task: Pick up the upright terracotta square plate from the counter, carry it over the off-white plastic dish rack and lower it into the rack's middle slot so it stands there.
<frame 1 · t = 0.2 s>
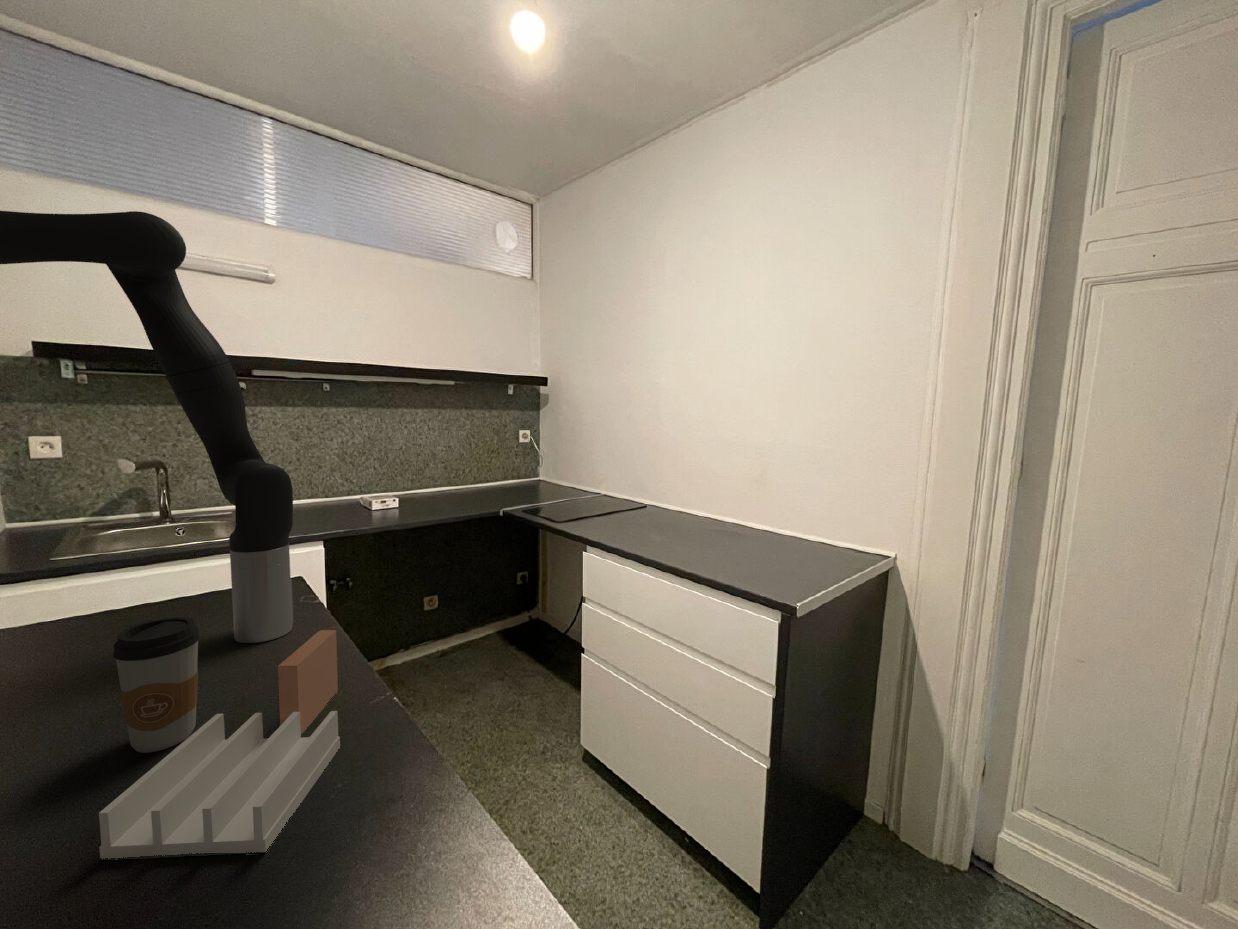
coffee cup: (164, 739, 67), on the countertop
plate: (311, 713, 73), on the countertop
dish rack: (238, 795, 57), on the countertop
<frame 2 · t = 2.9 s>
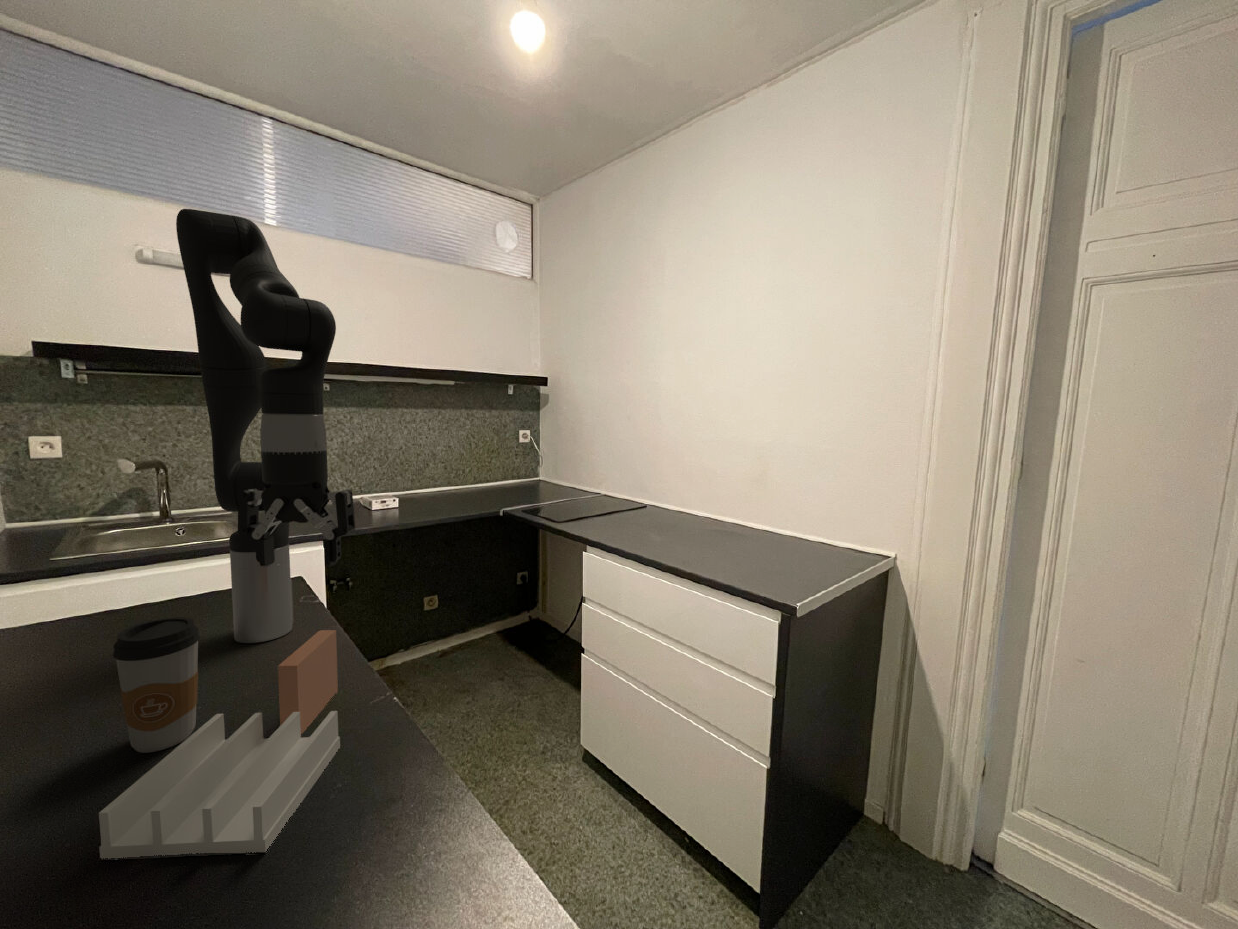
hand: (299, 564, 70), 22 cm above the countertop, tool pointing down, fingers open, 8 cm apart
nothing on the countertop moved.
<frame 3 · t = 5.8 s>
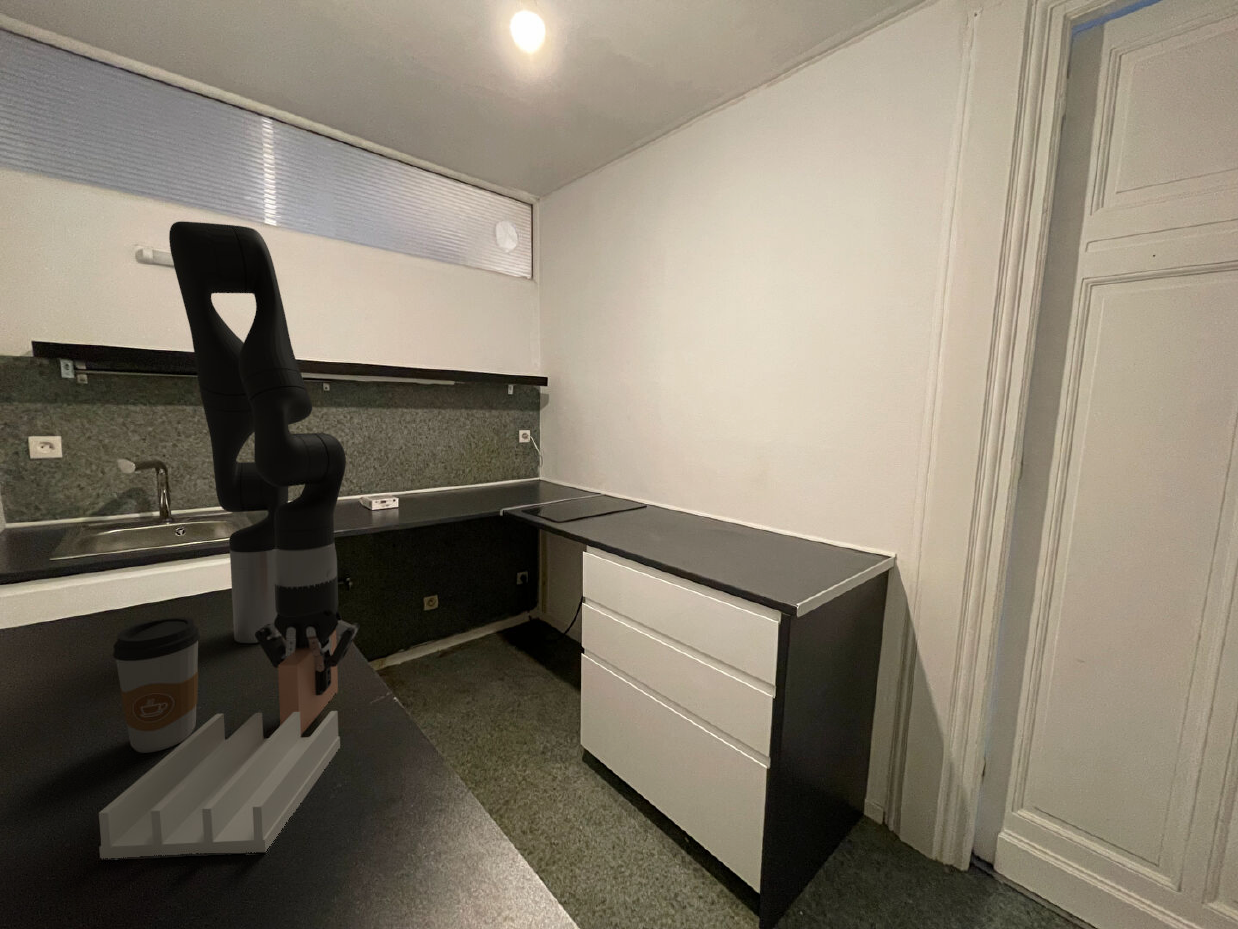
hand: (310, 692, 73), 3 cm above the countertop, tool pointing down, fingers closed on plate, 2 cm apart
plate: (311, 712, 73), on the countertop, touching gripper
everything else where it was.
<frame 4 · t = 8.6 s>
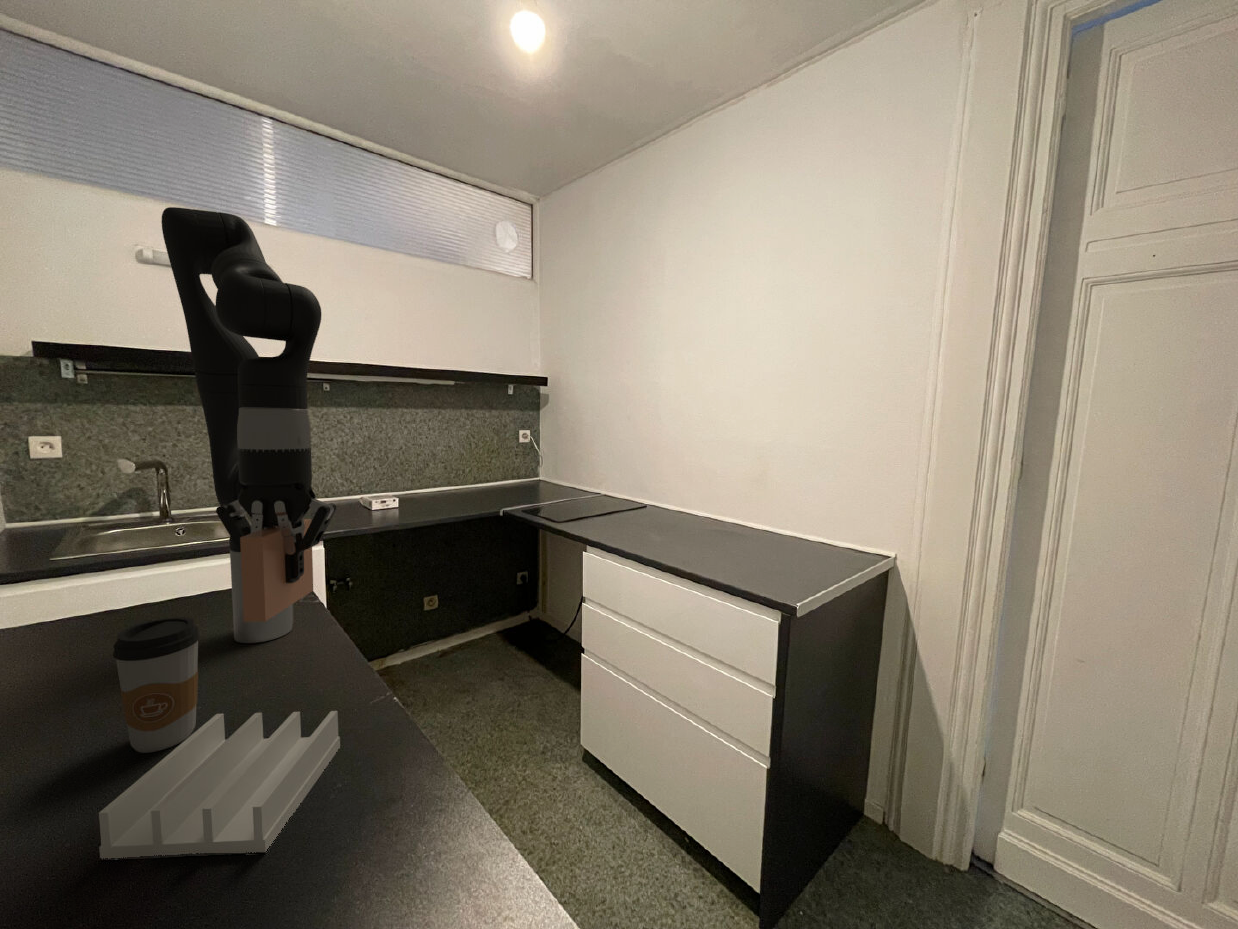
hand: (280, 581, 64), 22 cm above the countertop, tool pointing down, fingers closed on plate, 2 cm apart
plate: (281, 604, 64), point 19 cm above the countertop, touching gripper
everything else where it was.
when the fingers open (6 cm above the countertop, at t = 11.7 s): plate stays where it is, resting on dish rack.
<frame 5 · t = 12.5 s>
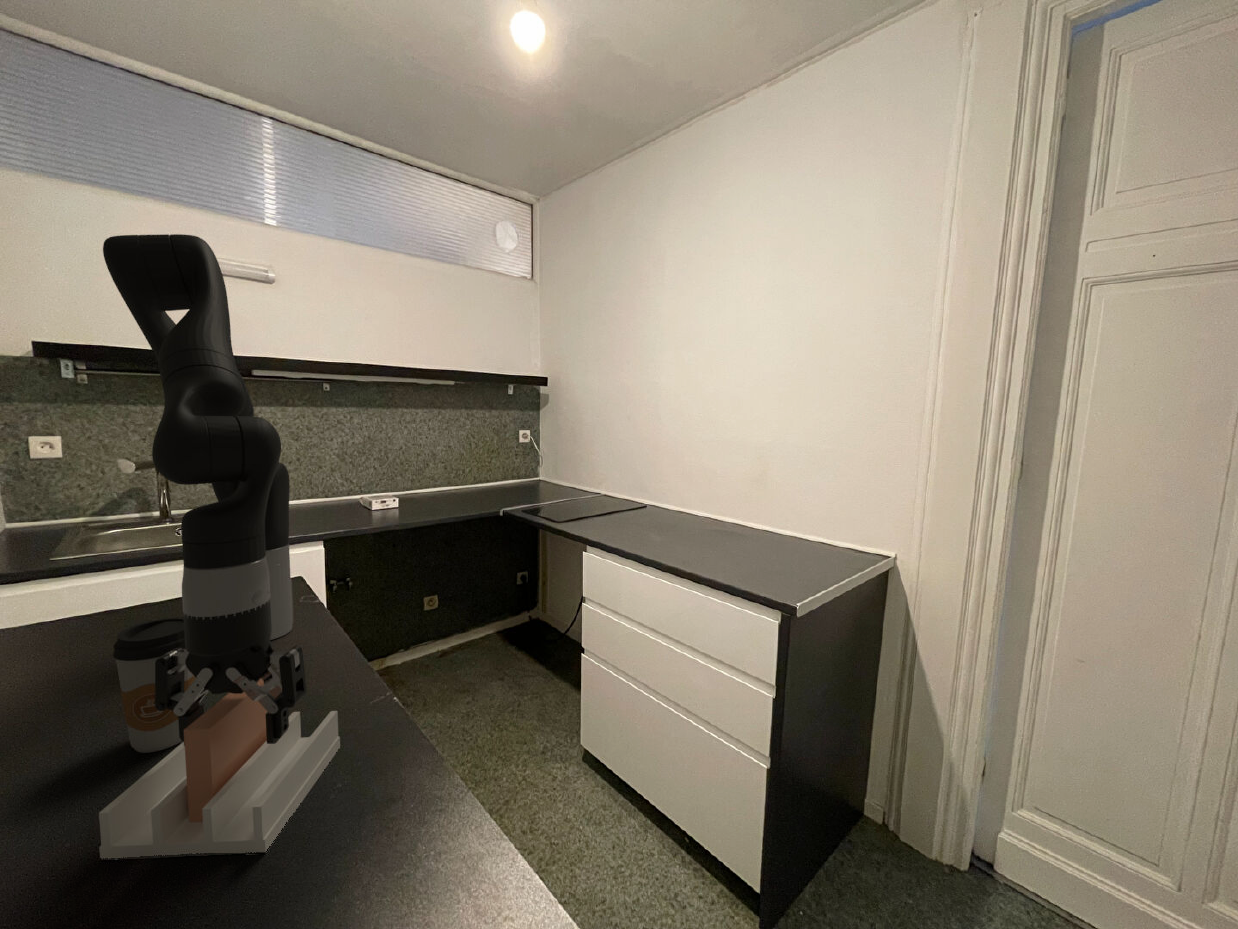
hand: (235, 740, 57), 7 cm above the countertop, tool pointing down, fingers open, 8 cm apart
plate: (237, 782, 57), point 1 cm above the countertop, touching dish rack
everything else where it was.
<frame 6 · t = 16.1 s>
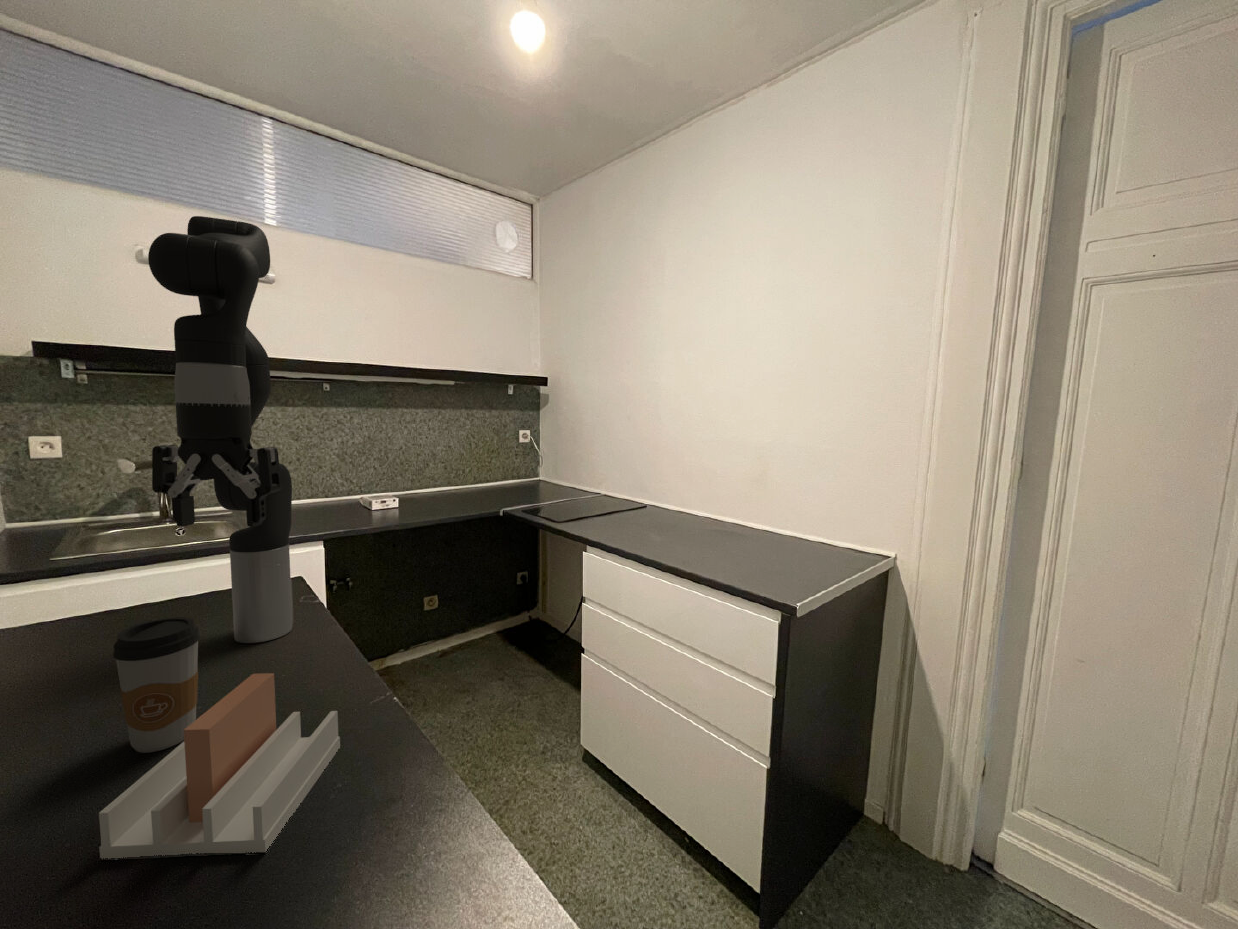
hand: (220, 525, 66), 28 cm above the countertop, tool pointing down, fingers open, 8 cm apart
nothing on the countertop moved.
at the end: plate 0.1 cm off-centre on the dish rack, point 1.5 cm above the dish rack's base; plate tilted 0°; the gripper is holding nothing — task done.
